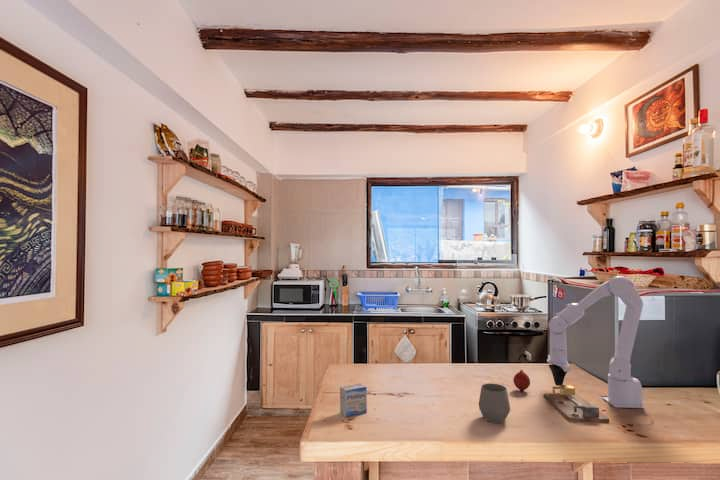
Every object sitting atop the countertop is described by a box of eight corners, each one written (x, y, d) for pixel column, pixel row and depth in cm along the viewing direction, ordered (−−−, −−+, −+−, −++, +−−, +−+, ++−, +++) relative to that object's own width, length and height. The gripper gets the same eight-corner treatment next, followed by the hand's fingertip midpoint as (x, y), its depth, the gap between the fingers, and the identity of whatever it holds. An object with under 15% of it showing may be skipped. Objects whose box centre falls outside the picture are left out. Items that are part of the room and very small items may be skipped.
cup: (506, 428, 116) (506, 395, 117) (475, 421, 121) (475, 389, 122) (512, 417, 124) (512, 385, 125) (483, 410, 129) (482, 380, 130)
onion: (531, 394, 143) (531, 372, 143) (515, 393, 144) (515, 371, 145) (528, 388, 149) (528, 367, 149) (512, 387, 150) (512, 366, 150)
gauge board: (577, 397, 140) (577, 386, 141) (609, 422, 120) (609, 409, 121) (543, 396, 141) (543, 385, 141) (569, 421, 121) (569, 408, 121)
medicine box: (345, 418, 124) (345, 390, 124) (339, 412, 128) (339, 386, 128) (367, 413, 128) (367, 386, 128) (360, 408, 132) (360, 382, 132)
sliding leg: (571, 392, 140) (570, 385, 140) (575, 395, 137) (575, 388, 137) (550, 391, 141) (550, 384, 141) (554, 394, 138) (554, 387, 138)
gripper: (539, 343, 153) (540, 378, 153) (555, 353, 139) (556, 392, 139) (558, 344, 153) (558, 378, 153) (576, 354, 138) (576, 392, 138)
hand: (558, 385), depth 146 cm, fingers closed
